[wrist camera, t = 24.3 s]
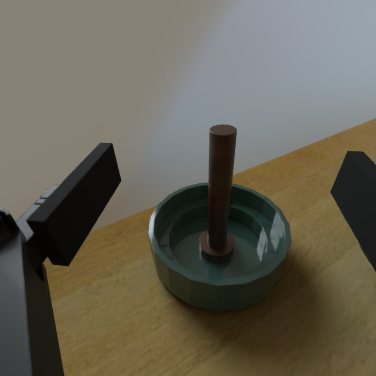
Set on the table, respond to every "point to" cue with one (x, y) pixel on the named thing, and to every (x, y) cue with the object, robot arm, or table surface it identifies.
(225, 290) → the stir bowl
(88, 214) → the robot arm
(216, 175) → the spurtle
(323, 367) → the table surface
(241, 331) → the table surface
